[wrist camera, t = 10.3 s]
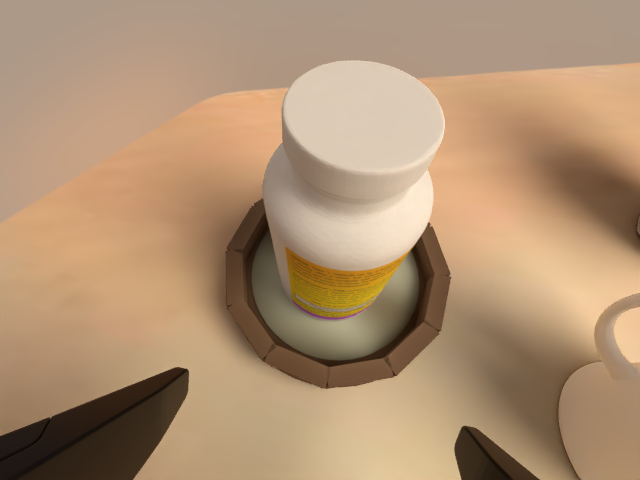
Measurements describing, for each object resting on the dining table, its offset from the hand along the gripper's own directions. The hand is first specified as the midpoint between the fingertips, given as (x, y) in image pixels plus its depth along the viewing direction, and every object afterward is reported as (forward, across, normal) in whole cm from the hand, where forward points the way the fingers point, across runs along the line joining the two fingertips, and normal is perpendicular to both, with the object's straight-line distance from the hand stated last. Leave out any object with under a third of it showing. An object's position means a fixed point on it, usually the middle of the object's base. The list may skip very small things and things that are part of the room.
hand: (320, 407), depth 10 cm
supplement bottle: (+11, 0, 0) cm, 11 cm away
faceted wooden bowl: (+11, 0, 0) cm, 11 cm away
